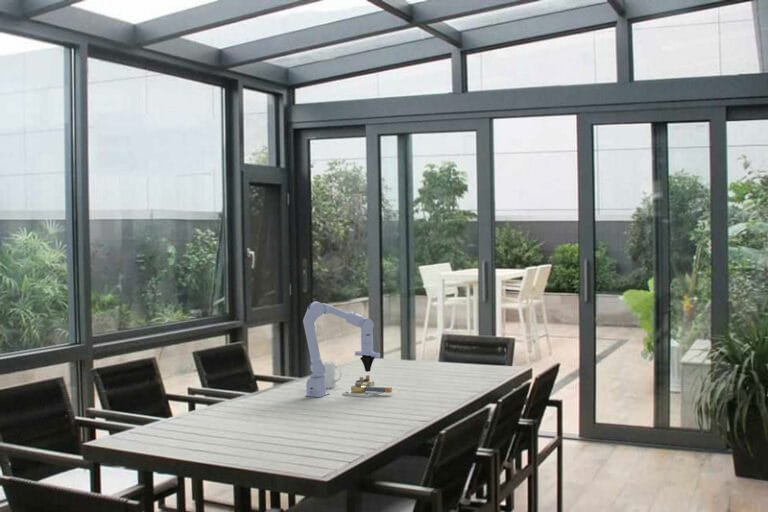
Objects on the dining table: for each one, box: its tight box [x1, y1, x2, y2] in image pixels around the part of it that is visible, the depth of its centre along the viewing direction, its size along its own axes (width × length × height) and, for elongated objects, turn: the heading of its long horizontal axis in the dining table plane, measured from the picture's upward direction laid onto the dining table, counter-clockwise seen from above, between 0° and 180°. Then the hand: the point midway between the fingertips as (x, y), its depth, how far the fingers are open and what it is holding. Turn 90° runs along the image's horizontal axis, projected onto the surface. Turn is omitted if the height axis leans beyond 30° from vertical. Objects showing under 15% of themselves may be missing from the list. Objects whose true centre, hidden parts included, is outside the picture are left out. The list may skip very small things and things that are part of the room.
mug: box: [322, 361, 343, 389], centre depth 442 cm, size 12×8×12 cm
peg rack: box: [355, 374, 375, 387], centre depth 441 cm, size 10×5×5 cm, turn 150°
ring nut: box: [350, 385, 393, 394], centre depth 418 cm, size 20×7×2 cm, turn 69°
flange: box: [342, 382, 383, 398], centre depth 422 cm, size 16×14×5 cm
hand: (367, 371), depth 425 cm, fingers closed
